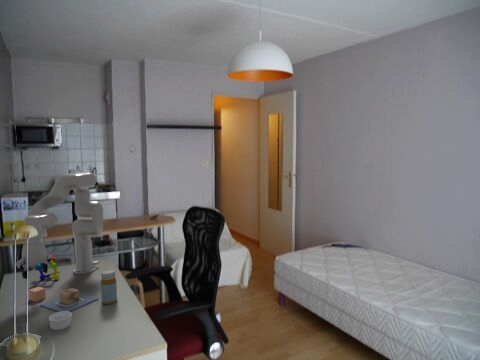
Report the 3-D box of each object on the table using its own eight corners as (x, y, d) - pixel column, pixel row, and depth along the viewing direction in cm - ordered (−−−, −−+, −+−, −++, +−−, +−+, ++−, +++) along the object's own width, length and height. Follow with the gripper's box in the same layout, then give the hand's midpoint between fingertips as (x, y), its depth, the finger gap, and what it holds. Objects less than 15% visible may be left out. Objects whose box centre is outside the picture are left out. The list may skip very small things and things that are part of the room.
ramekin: (75, 325, 150) (75, 315, 150) (53, 333, 144) (52, 322, 144) (68, 318, 157) (67, 309, 156) (46, 325, 151) (45, 315, 150)
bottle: (112, 305, 169) (110, 274, 168) (98, 304, 171) (97, 273, 170) (119, 299, 176) (118, 269, 175) (106, 298, 178) (105, 268, 176)
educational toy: (33, 280, 206) (31, 254, 205) (58, 275, 213) (56, 250, 213) (38, 285, 193) (36, 257, 193) (64, 280, 201) (62, 253, 201)
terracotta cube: (39, 296, 181) (38, 286, 180) (45, 298, 178) (44, 288, 178) (29, 299, 176) (28, 290, 176) (35, 301, 174) (35, 292, 173)
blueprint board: (74, 292, 185) (74, 290, 185) (97, 299, 176) (97, 297, 176) (40, 305, 169) (40, 304, 169) (64, 314, 161) (64, 312, 160)
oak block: (71, 297, 177) (71, 288, 176) (79, 300, 174) (78, 290, 173) (60, 302, 172) (59, 292, 171) (67, 305, 169) (67, 294, 168)
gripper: (46, 236, 184) (47, 269, 185) (11, 243, 169) (12, 279, 170) (55, 238, 180) (56, 271, 181) (20, 245, 165) (21, 282, 166)
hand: (35, 275), depth 176 cm, fingers open, 9 cm apart
